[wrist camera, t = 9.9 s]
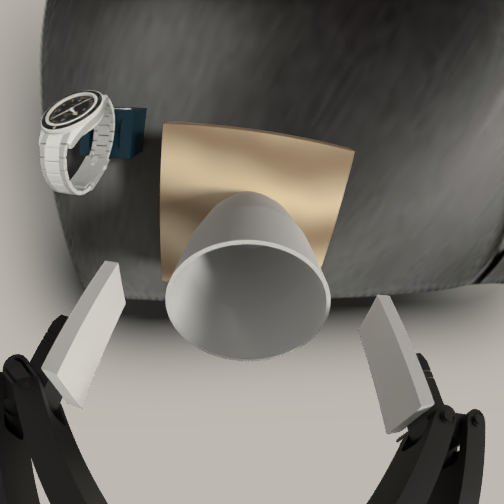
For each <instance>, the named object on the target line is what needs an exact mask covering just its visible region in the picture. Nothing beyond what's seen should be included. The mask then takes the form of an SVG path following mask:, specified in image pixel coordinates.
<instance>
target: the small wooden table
mask: <svg viewBox="0 0 504 504" xmlns="http://www.w3.org/2000/svg"><path fill="white" fill-rule="evenodd" d="M354 153H355V151H353V150H351V149H350V148H348V147H344V146H340V145H336V144H331V143H327V142H322V141H318V140H313V139H308V138H303V137H298V136H293V135H287V134H282V133H276V132H269V131H263V130H256V129H249V128H241V127H233V126H224V125H214V124H203V123H190V122H172V121H169V122H166V123H163V133H162V150H161V174H160V247H161V272H162V281H170V278H171V276H172V274H173V272H174V270H175V268H176V266H177V264H178V262H179V260H180V258H181V256H182V254H183V252H184V250H185V248H186V246H187V244H188V242H189V240H190V238H191V236H192V234H193V233H194V231H195V230H196V228H197V227H198V226H199V225H200V224H201V222H202V221H203V220H204V219H205V217H206V216H207V215H208V214H209V213H210V211H211V210H212V209H213V208H214V207H215V206H216V205H217V204H218V203H220V202H221V201H223V200H225V199H227V198H229V197H231V196H233V195H235V194H237V193H240V192H247V191H251V192H258V193H261V194H263V195H265V196H267V197H269V198H271V199H273V200H275V201H276V202H278V203H279V204H280V205H282V206H283V207H284V208H285V209H286V211H287V212H288V213H289V214H290V216H291V217H292V218H293V220H294V221H295V222H296V223H297V225H298V226H299V227H300V229H301V230H302V231H303V233H304V234H305V236H306V238H307V240H308V242H309V244H310V246H311V249H312V251H313V253H314V255H315V257H316V259H317V262H318V264H319V266H320V268H321V267H322V264H323V261H324V257H325V254H326V251H327V248H328V245H329V242H330V239H331V236H332V232H333V229H334V226H335V222H336V219H337V216H338V212H339V209H340V205H341V202H342V198H343V195H344V191H345V188H346V184H347V180H348V176H349V173H350V169H351V165H352V161H353V157H354Z"/></svg>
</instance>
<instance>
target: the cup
mask: <svg viewBox="0 0 504 504" xmlns="http://www.w3.org/2000/svg"><path fill="white" fill-rule="evenodd" d="M330 301H331V299H330V291H329V287H328V284H327V282H326V279H325V277H324V275H323V273H322V270H321V268H320V266H319V264H318V262H317V259H316V257H315V255H314V253H313V251H312V249H311V246H310V244H309V242H308V240H307V238H306V236H305V234H304V233H303V231H302V230H301V229H300V227H299V226H298V225H297V223H296V222H295V221H294V220H293V218H292V217H291V216H290V214H289V213H288V212H287V211H286V209H285V208H284V207H283V206H282V205H280V204H279V203H278V202H276V201H275V200H273V199H271V198H269V197H267V196H265V195H263V194H261V193H258V192H251V191H247V192H240V193H237V194H235V195H233V196H231V197H229V198H227V199H225V200H223V201H221V202H220V203H218V204H217V205H216V206H215V207H214V208H213V209H212V210H211V211H210V213H209V214H208V215H207V216H206V217H205V219H204V220H203V221H202V222H201V224H200V225H199V226H198V227H197V228H196V230H195V231H194V233H193V234H192V236H191V238H190V240H189V242H188V244H187V246H186V248H185V250H184V252H183V254H182V256H181V258H180V260H179V262H178V264H177V266H176V268H175V270H174V272H173V274H172V276H171V278H170V281H169V283H168V286H167V290H166V309H167V312H168V315H169V318H170V320H171V322H172V324H173V325H174V327H175V328H176V330H178V332H179V333H180V334H181V335H182V336H183V337H184V338H185V339H186V340H187V341H188V342H190V343H191V344H192V345H194V346H196V347H197V348H199V349H201V350H202V351H205V352H207V353H209V354H212V355H215V356H218V357H222V358H225V359H230V360H238V361H259V360H267V359H272V358H276V357H280V356H283V355H286V354H288V353H291V352H292V351H295V350H297V349H298V348H300V347H302V346H303V345H305V344H306V343H307V342H309V341H310V340H311V339H312V338H313V337H314V336H315V335H316V334H317V333H318V332H319V331H320V329H321V328H322V326H323V325H324V323H325V321H326V319H327V317H328V314H329V309H330Z"/></svg>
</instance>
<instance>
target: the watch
mask: <svg viewBox="0 0 504 504" xmlns="http://www.w3.org/2000/svg"><path fill="white" fill-rule="evenodd" d="M146 110H147V108H128V107H113V105H112V103H111V101H110V99H109V98H108V96H107V95H102V94H101V93H100V92H97V91H93V90H86V91H80V92H76V93H73V94H70V95H68V96H66V97H64V98H62V99H60V100H59V101H57V102H56V103H54V104H53V105H52V106H51V107H50V108H49V109H48V110H47V111H46V112H45V113H44V115H43V116H42V119H41V127H42V129H41V132H40V137H39V142H38V145H39V147H40V164H41V169H42V174H43V177H44V179H45V181H46V183H47V184H48V185H49V187H51V189H52V190H54V191H56V192H59V193H67V194H75V195H84V194H86V193H87V192H88V191H92V190H93V188H94V187H95V186H96V184H97V183H98V181H99V180H100V178H101V176H102V175H103V173H104V171H105V170H106V168H107V165H108V163H109V161H110V159H109V157H114V158H125V159H130V158H132V157H134V156H135V155H137V154H139V153H140V152H142V147H143V137H144V127H145V118H146ZM79 139H80V155H87V156H86V157H85V159H84V161H83V163H82V164H81V166H80V168H79V169H78V171H77V172H76V174H75V175H74V176H73V177H72V179H71V181H70V180H69V176H68V171H67V170H66V169H67V159H66V158H65V157H66V156H67V148H69V149H72V148H73V147H74V146H75V145H76V143H77V142H78V141H79Z"/></svg>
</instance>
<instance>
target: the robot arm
mask: <svg viewBox="0 0 504 504" xmlns="http://www.w3.org/2000/svg"><path fill="white" fill-rule="evenodd" d="M124 306H125V298H124V293H123V288H122V282H121V276H120V270H119V264H118V263H117V262H111V261H104V263H103V264H102V266H101V267H100V269H99V270H98V272H97V273H96V275H95V276H94V278H93V279H92V281H91V282H90V284H89V285H88V287H87V288H86V290H85V291H84V293H83V294H82V296H81V298H80V299H79V301H78V303H77V304H76V306H75V307H74V309H73V311H72V312H71V314H70V316H69V317H67V316H64V315H60V316H59V317H58V318H57V319H56V320H54V321H53V322H52V324H51V326H50V327H49V329H48V332H47V333H46V334H45V336H44V337H43V338H44V339H43V340H42V341H41V343H40V345H39V346H38V348H37V350H36V352H35V354H34V356H33V358H32V359H31V361H30V363H29V361H28V360H27V359H26V358H25V357H24V356H23V355H19V354H16V355H13V356H11V357H9V358H8V359H7V360H6V361H5V363H4V366H3V372H0V504H40V502H39V498H38V494H37V489H36V485H35V480H34V474H33V468H32V462H31V458H32V461H33V464H34V467H35V469H36V472H37V474H38V477H39V479H40V482H41V484H42V486H43V488H44V491H45V493H46V495H47V497H48V500H49V502H50V504H107V502H106V500H105V498H104V497H103V495H102V493H101V492H100V490H99V488H98V486H97V484H96V483H95V481H94V479H93V477H92V475H91V473H90V471H89V469H88V467H87V466H86V463H85V461H84V459H83V457H82V455H81V453H80V451H79V448H78V446H77V444H76V441H75V439H74V437H73V434H72V432H71V429H70V427H69V424H68V421H67V419H66V416H65V414H64V410H63V408H62V405H61V404H60V402H61V399H62V397H63V398H64V400H65V401H66V402H67V403H68V404H71V405H73V406H76V407H79V408H82V407H83V404H84V401H85V398H86V396H87V393H88V390H89V388H90V385H91V382H92V380H93V377H94V374H95V372H96V370H97V367H98V365H99V362H100V360H101V357H102V355H103V353H104V350H105V348H106V345H107V343H108V341H109V339H110V336H111V334H112V332H113V330H114V327H115V325H116V323H117V321H118V319H119V316H120V314H121V312H122V310H123V308H124ZM358 331H359V334H360V337H361V340H362V344H363V347H364V350H365V354H366V357H367V360H368V364H369V367H370V371H371V374H372V378H373V381H374V385H375V388H376V393H377V396H378V400H379V404H380V408H381V412H382V416H383V420H384V424H385V429H386V433H387V434H391V433H396V432H400V431H402V430H403V429H404V428H406V427H407V428H408V432H406V433H405V434H404V435H402V436H401V437H399V438H398V439H397V441H396V442H399V441H400V440H402V439H403V440H402V442H401V443H400V446H399V448H398V450H397V452H396V455H395V456H394V458H393V460H392V462H391V464H390V466H389V468H388V469H387V471H386V473H385V475H384V477H383V478H382V480H381V482H380V483H379V485H378V487H377V488H376V490H375V492H374V493H373V495H372V496H371V498H370V500H369V501H368V503H367V504H479V498H480V492H481V485H482V476H483V466H484V452H485V420H484V416H483V414H482V413H481V412H480V411H479V410H477V409H473V410H471V411H470V412H468V413H467V414H458V413H455V412H454V410H453V409H452V408H451V407H450V406H448V405H444V403H443V401H442V399H441V396H440V393H439V390H438V388H437V385H436V383H435V380H434V378H433V375H432V372H430V368H429V365H428V363H427V361H426V360H425V358H424V357H423V356H422V355H421V354H420V353H417V354H416V353H415V351H414V348H413V346H412V344H411V341H410V339H409V337H408V335H407V332H406V330H405V328H404V326H403V323H402V321H401V319H400V317H399V315H398V313H397V311H396V308H395V306H394V304H393V302H392V300H391V298H390V296H386V295H377V297H376V299H375V301H374V303H373V305H372V307H371V308H370V310H369V312H368V314H367V316H366V317H365V319H364V321H363V323H362V325H361V326H360V328H359V330H358ZM458 446H460V450H459V451H457V447H458Z"/></svg>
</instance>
